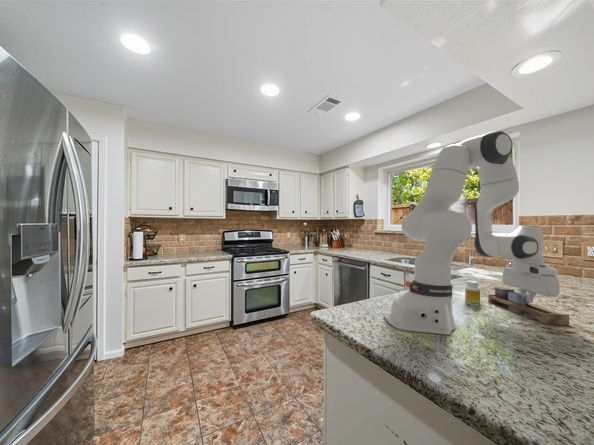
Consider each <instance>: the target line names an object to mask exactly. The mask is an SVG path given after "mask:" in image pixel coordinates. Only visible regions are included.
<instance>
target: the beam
mask: <svg viewBox="0 0 594 445" xmlns="http://www.w3.org/2000/svg"><path fill="white" fill-rule="evenodd" d="M508 292H515V289H513V288H510V287H505V286H503V287H502V286H496V287H494V293H492V294H491V293H489V294H488V299H487V300H488V303H490V304H494V303H495V304H504V305H506V306H507V307H508V308H507V310H509V311H511V312H514V313H517V314H519V315H532V316H533V315H534V316H536V317H539V323H540V324H542V325H561V326H562V325H564V326H565V325H569V326H570V314H569V313H562V312H558V311H555V310H552V309H549V308H546V307H544V306H541V305H537V304H535V303H530V304H525V306H523V305H521V304H518V303H515V302H512V301H509V300H508Z"/></svg>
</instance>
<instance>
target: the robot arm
mask: <svg viewBox="0 0 594 445" xmlns="http://www.w3.org/2000/svg"><path fill="white" fill-rule="evenodd" d="M512 150H513V141H512V138H511V137H510V135H509V134H507V133H506V132H504V131H502V130H497V131H496V130H495V131H491V132H490V131H489V132H487V133H486V134H482V135H477V136H474V137H470V138H468V139H465V140H462V141H461V142H459V143H454V144H450V145H447V146H444V147H443V148H442V149H441V150H440V151H439V153H438V155H437V157H436V159H435V161H434V163H433V166H432V168H431V171H430V175H429V178H428V181H427V184H426V186H425V190H424V192H423V194H422V196H421V198H420V199H419V201H418V202H417V205H415V207H414V208H413V210H411V212H410V213H409V214H407V215H406V216H405V217H404V218H403V220H402V222H401V230H402V233H403V235H404V236H406V238H409V239H410V240H414V241H416V242H424V247H423V249H422V251H421V253H420V254H418V255H417V256H416V257H415V258H414V259H415V260H414V279H413V280H412V281H411V280H410V281H409V280H407V279H406V280H404V281H403V283H404V286H406V287H408V288H409V289H408V290H407V291H406V292H404V293H403V294H402V295H400V296H398V297H396V299H395V298H394V300H393V302H392V304H391V308H390V309H391V310H390V311H386V312H385V313H384V319H385V321H386V322H387V323H389V324H390V326H392V327H394V328H396V329H397V330H400V331H407V332H408V331H409V332H416V333H417V332H419V333H427V334H429V333H430V334H440V335H451V334H452V331H454V330H456V328H457V326H456V325H457V324H456V322H455V319H454V315H453V314H454V313H453V306H452V298H453V284H452V282H451V281H452V280H451V279H452V277H451V276H452V265H453V264H452V263H453V259H454V255H455V253H456V251H457V249H458V248H459V246H460V245H461V244H463V243H464V242H465V241H467V240H468V239H469V237H470V236H471V234H472V231H473V224H472V220H471V219H470V217H469V216H468V215H467V214H466V213H464V212H461V211H457V210H449V209H450V208H451V206H453V205H454V204H456V203H457V202H458V201H459V200H460V199H461V196H462V193H463V191H464V187H465V182H466V179H467V177H468V176H467V175H468V171H469V169H476V170H477V171H478V172H477V174H478V181H479V185H480V193H479V196H478V197H477V198H476V200H475V201H474V223H475V224H474V228H475V231H474V232H475V236H474V243H473V246H474V248H475V250H476V252H477V253H478V254H479V255H480V256H482V257H486V258H487V257H488V258H501V259H502V258H503V259H512V263H511V262H508V263H506V264H504V268H503V270H502V278H501V281H502V283H503V285H506V286H510V287H514V288H517V289H518V292H520V293H521V295H522V300H523V301H526V302H529V303H532V304H534V303H533V302H534V298H535V297H536V296H537V295H541V296H546V297H548V298H549V297H550V298H552V297H553V298H556V297H558V296H559V295H560V280H559V277H557V276H559V270H558V269H557V268H555V267H553V266H550V265H548V264H547V263H545V259H544V256H543V252H544V247H545V246H544V245H545V242H544V234H543V231H542V228H540V227H538V226H534V225H529V224H528V225H524V224H523V225H516V226H515V228H514V231H512V232H509V233H495V232H494V231H493V229H492V227H493V226H492V213H493V212H494V210H495V209H496V208H497V207H499V206H502V205H504V204H507V203H509V202H510V201H511V200H513V199H514V198H515V197H517V195H518V193H519V190H520V183H519V179H518V178H519V177H518V175H517V170H516V167H515V164H514V162H513V160H512V158H511V153H512ZM527 294H528V295H527Z"/></svg>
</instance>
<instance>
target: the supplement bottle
mask: <svg viewBox="0 0 594 445" xmlns="http://www.w3.org/2000/svg"><path fill="white" fill-rule="evenodd" d="M466 284H467V285H465V286H464V303H465V304H467V305H469V306H474V307H475V306H477V307H478V306H480V305H481V288H480V287H479V282H478V281H475V280H467V281H466Z"/></svg>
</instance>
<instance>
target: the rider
mask: <svg viewBox="0 0 594 445" xmlns="http://www.w3.org/2000/svg"><path fill="white" fill-rule="evenodd" d="M527 295H529V294H528V293H527ZM508 300H509V301H512V302H515V303H518V304H521V305H523V306H525V304H530V303H529V302H526V301H523V300H522V295H521V293H520V292H519V291H514V292H508Z"/></svg>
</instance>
